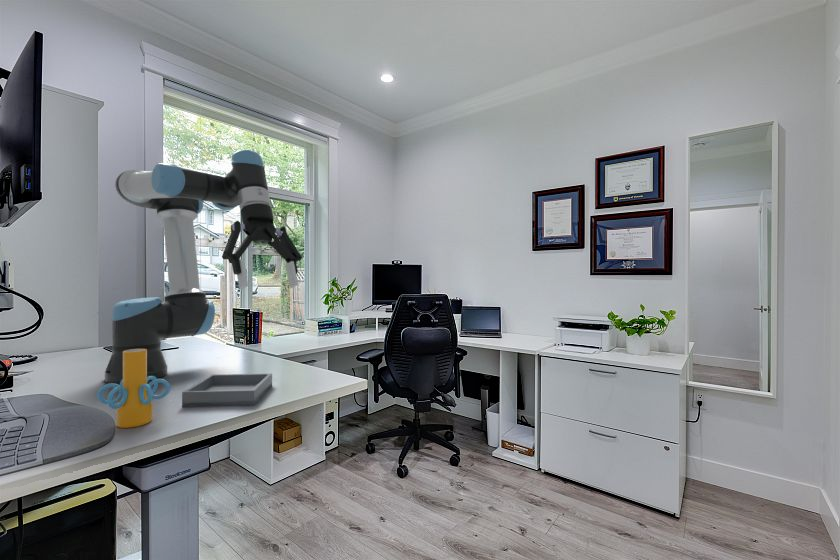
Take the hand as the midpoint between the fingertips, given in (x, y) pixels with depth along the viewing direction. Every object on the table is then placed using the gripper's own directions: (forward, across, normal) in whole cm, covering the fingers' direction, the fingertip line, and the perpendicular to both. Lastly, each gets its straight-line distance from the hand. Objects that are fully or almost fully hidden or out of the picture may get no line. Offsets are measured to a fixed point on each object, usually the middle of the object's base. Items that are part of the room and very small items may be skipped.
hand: (270, 287), depth 96 cm
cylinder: (+24, -26, +16) cm, 39 cm away
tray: (+23, -5, +18) cm, 30 cm away
